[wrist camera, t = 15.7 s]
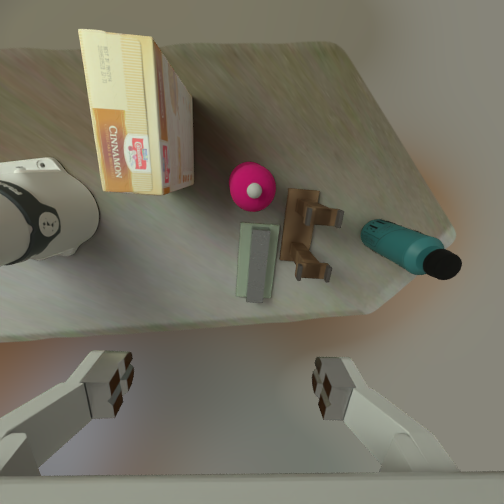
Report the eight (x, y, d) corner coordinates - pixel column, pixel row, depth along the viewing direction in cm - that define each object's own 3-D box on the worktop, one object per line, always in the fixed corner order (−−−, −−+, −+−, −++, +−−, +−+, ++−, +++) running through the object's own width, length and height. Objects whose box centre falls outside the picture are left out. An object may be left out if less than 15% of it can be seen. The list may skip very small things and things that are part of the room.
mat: (235, 294, 54) (235, 296, 53) (240, 222, 48) (240, 222, 47) (270, 296, 54) (270, 298, 53) (279, 224, 48) (279, 225, 48)
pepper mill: (234, 157, 44) (230, 149, 25) (271, 167, 45) (294, 166, 26) (226, 196, 46) (217, 214, 27) (261, 204, 47) (276, 228, 28)
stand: (279, 258, 51) (293, 290, 38) (288, 188, 46) (308, 195, 33) (306, 260, 51) (329, 292, 38) (318, 190, 47) (349, 199, 33)
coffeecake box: (151, 91, 40) (74, 24, 21) (193, 95, 40) (154, 33, 22) (157, 183, 45) (99, 192, 26) (194, 185, 45) (164, 196, 27)
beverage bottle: (370, 251, 52) (445, 298, 33) (349, 234, 50) (415, 273, 31) (392, 228, 50) (484, 263, 31) (371, 209, 48) (454, 235, 30)
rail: (246, 295, 53) (246, 302, 50) (251, 226, 47) (252, 229, 45) (261, 295, 53) (262, 302, 50) (268, 227, 48) (270, 230, 45)
